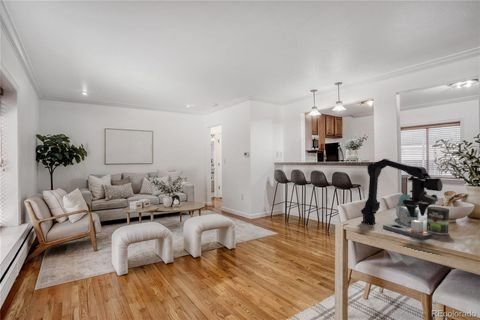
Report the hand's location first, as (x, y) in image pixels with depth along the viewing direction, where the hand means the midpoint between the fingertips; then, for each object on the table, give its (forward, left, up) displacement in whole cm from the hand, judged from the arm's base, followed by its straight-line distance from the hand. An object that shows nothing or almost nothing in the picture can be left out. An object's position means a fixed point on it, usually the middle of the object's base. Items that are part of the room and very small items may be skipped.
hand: (417, 216), depth 136 cm
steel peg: (0, 0, -11) cm, 11 cm away
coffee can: (+1, +18, -11) cm, 21 cm away
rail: (-6, 0, -11) cm, 12 cm away
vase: (-24, +30, -11) cm, 40 cm away
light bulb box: (-16, +20, -11) cm, 28 cm away
